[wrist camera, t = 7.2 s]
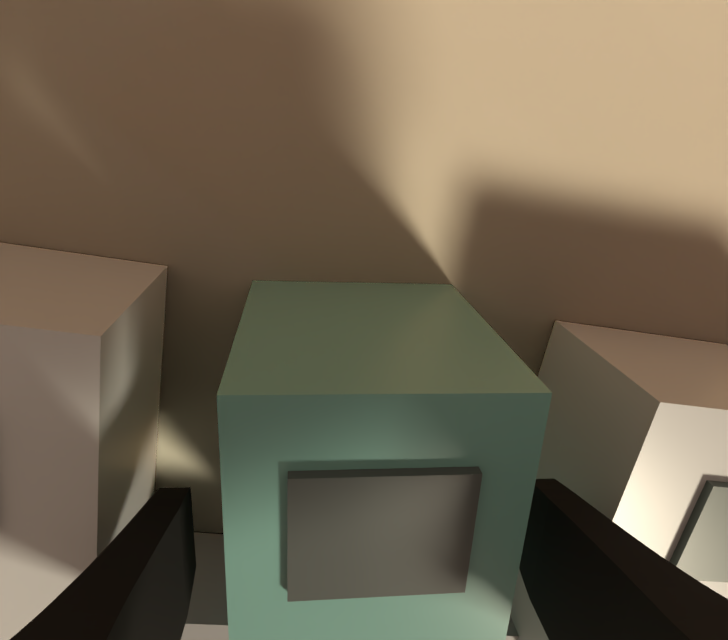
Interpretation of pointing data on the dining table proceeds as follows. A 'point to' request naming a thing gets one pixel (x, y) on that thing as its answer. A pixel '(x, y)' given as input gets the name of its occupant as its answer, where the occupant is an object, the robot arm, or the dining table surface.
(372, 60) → the dining table surface
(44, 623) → the robot arm
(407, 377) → the block
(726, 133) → the dining table surface
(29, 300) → the rail mount
